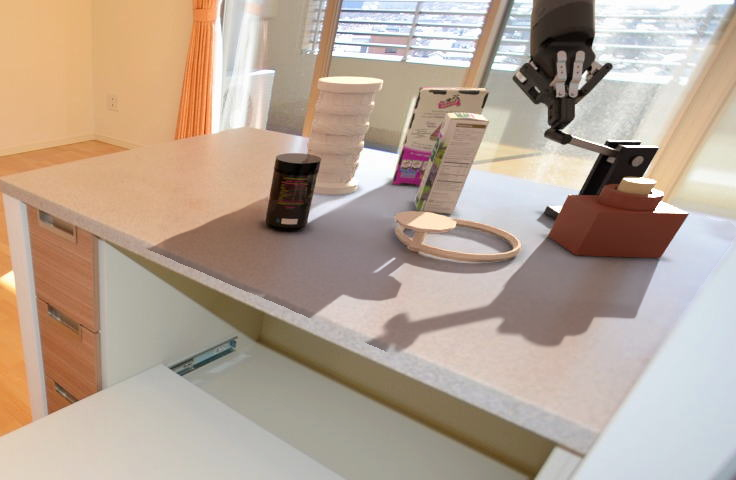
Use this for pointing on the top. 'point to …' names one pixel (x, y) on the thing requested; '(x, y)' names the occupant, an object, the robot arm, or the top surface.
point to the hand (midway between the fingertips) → (560, 126)
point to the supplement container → (292, 191)
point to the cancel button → (636, 185)
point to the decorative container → (341, 130)
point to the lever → (582, 143)
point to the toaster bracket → (614, 168)
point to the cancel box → (617, 224)
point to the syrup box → (450, 162)
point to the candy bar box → (432, 127)
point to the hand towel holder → (440, 223)
